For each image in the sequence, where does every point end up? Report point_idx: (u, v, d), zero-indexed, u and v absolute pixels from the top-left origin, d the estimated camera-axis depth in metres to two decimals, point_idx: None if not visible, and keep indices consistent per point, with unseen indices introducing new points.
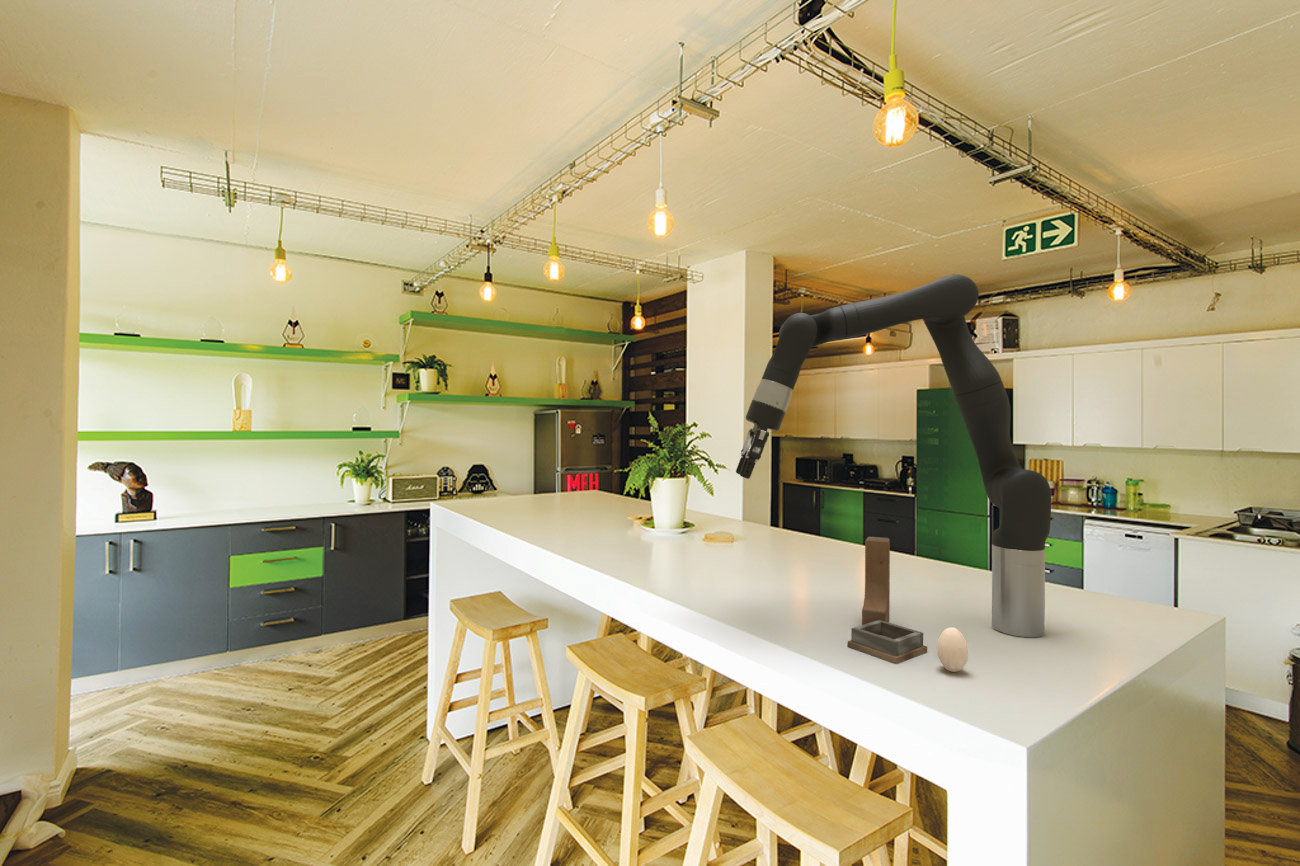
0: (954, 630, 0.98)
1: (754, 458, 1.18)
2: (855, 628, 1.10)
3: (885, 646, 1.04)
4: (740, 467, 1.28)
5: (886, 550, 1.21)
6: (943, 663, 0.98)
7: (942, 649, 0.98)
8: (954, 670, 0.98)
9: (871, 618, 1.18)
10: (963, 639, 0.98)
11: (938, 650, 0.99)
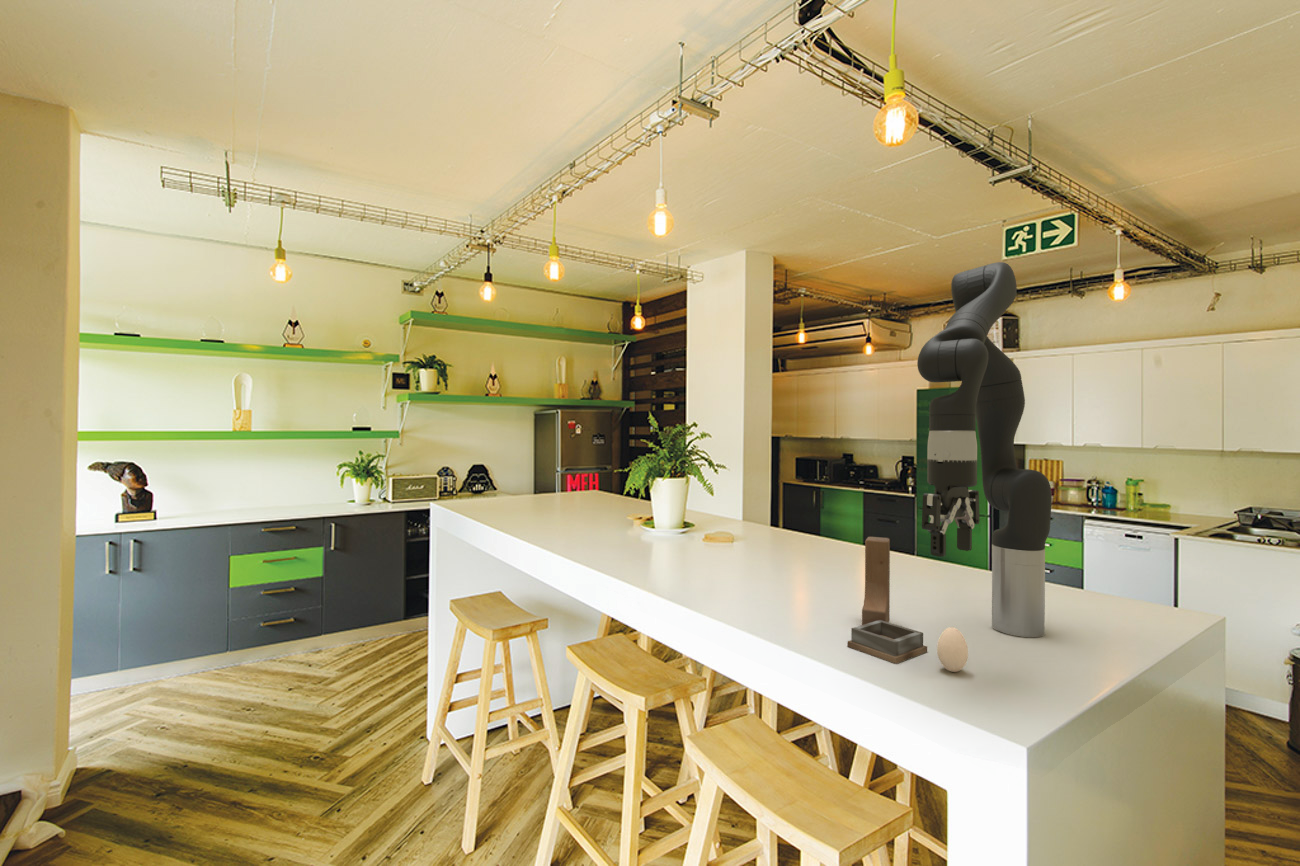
0: (954, 630, 0.98)
1: None
2: (855, 628, 1.10)
3: (885, 646, 1.04)
4: None
5: (886, 550, 1.21)
6: (943, 663, 0.98)
7: (942, 649, 0.98)
8: (954, 670, 0.98)
9: (871, 618, 1.18)
10: (963, 639, 0.98)
11: (938, 650, 0.99)
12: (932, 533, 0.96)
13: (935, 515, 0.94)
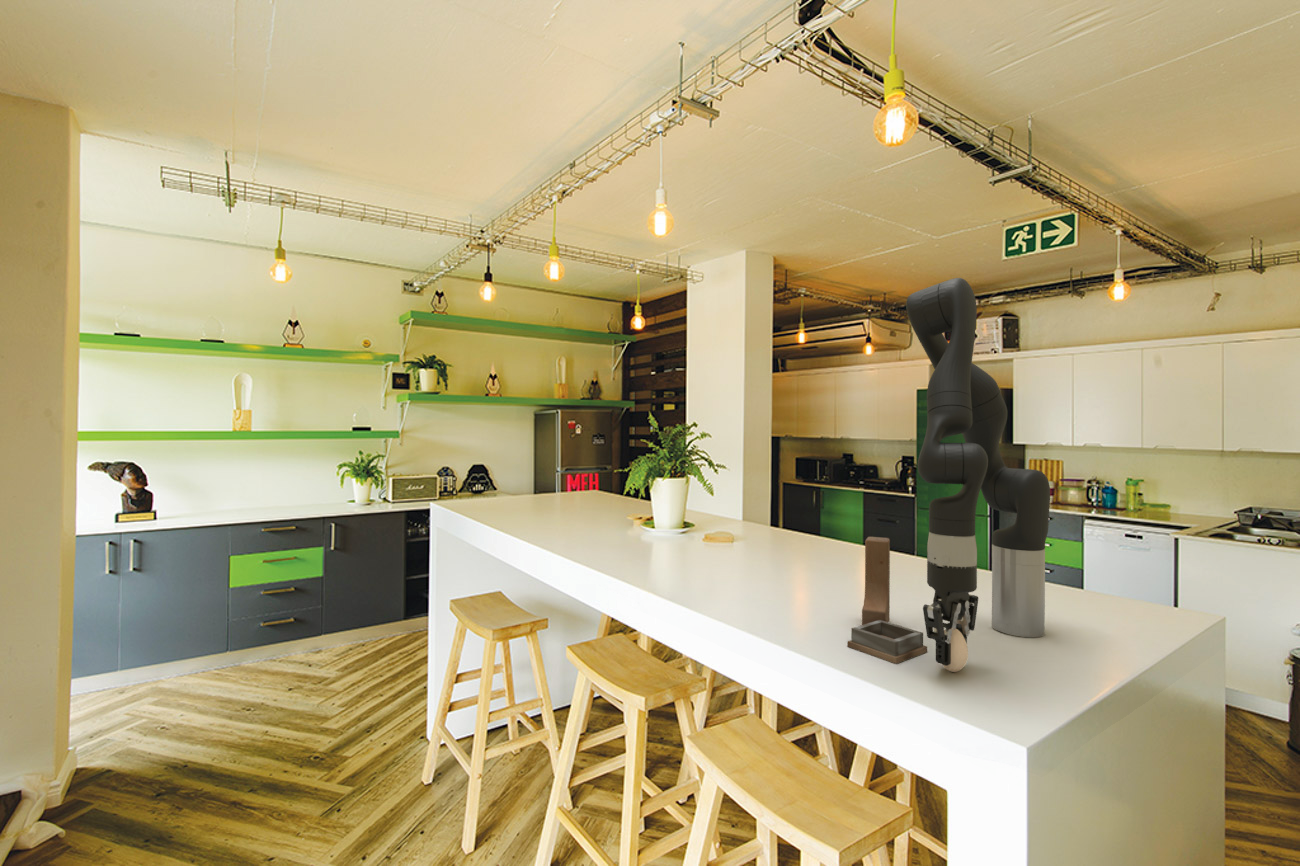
0: (954, 630, 0.98)
1: None
2: (855, 628, 1.10)
3: (885, 646, 1.04)
4: None
5: (886, 550, 1.21)
6: None
7: None
8: (954, 670, 0.98)
9: (871, 618, 1.18)
10: (963, 639, 0.98)
11: None
12: (937, 642, 0.97)
13: (938, 628, 0.95)
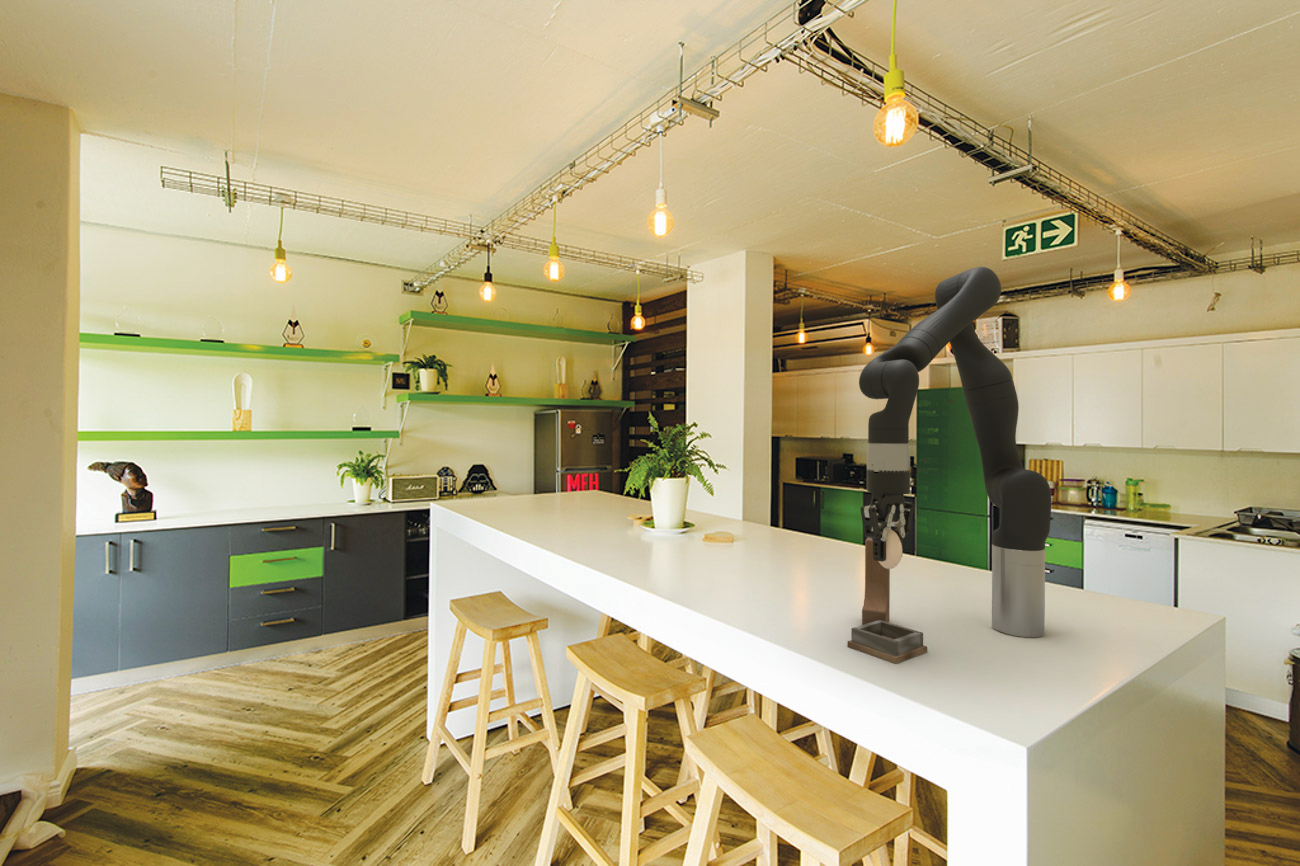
0: (890, 531, 1.08)
1: None
2: (855, 628, 1.10)
3: (885, 646, 1.04)
4: None
5: None
6: (880, 561, 1.08)
7: None
8: (889, 566, 1.07)
9: (871, 618, 1.18)
10: (897, 538, 1.07)
11: None
12: (874, 540, 1.07)
13: (873, 526, 1.04)
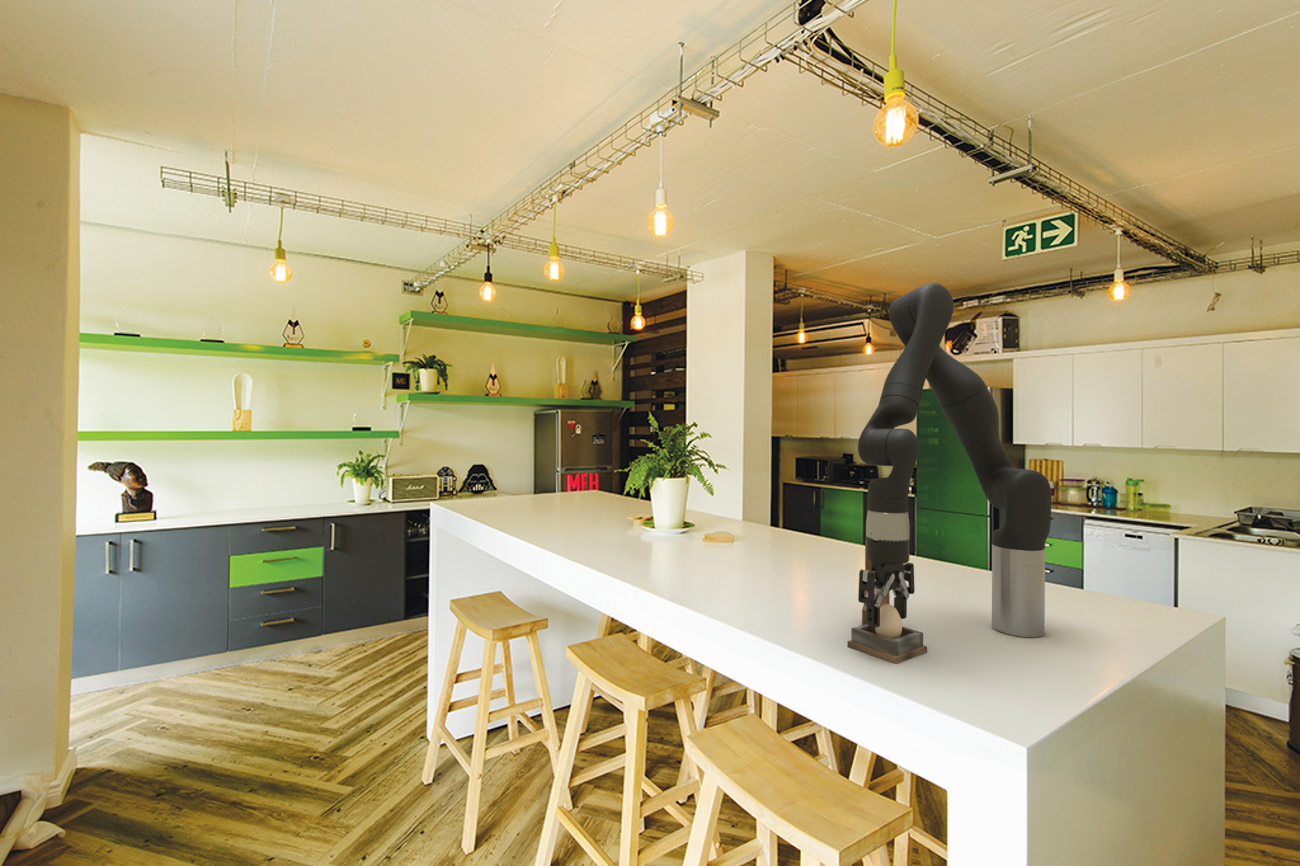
0: (889, 606, 1.08)
1: None
2: (855, 628, 1.10)
3: (885, 646, 1.04)
4: None
5: None
6: None
7: None
8: None
9: None
10: (897, 614, 1.07)
11: None
12: (868, 606, 1.06)
13: (869, 590, 1.04)
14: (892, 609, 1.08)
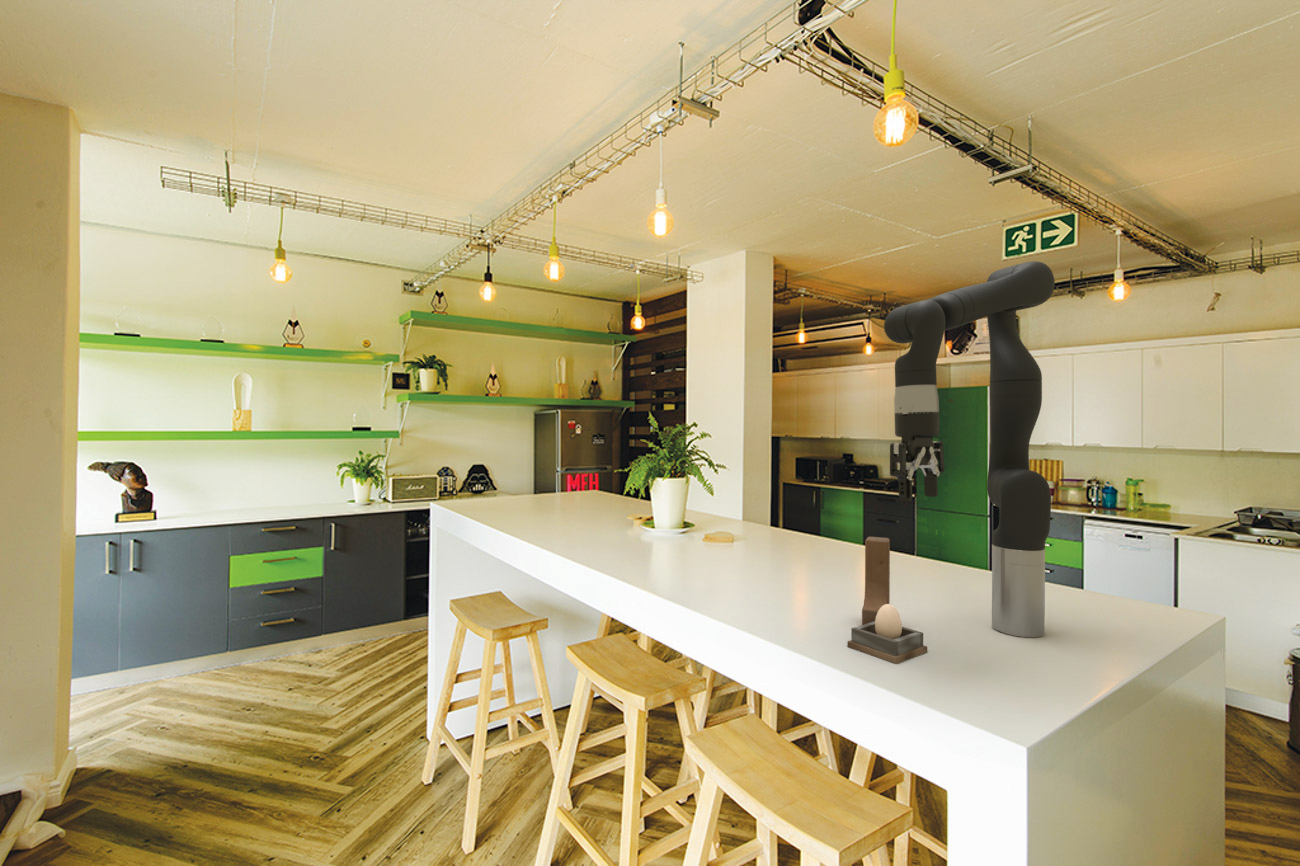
0: (889, 606, 1.08)
1: None
2: (855, 628, 1.10)
3: (885, 646, 1.04)
4: None
5: (886, 550, 1.21)
6: None
7: (878, 623, 1.08)
8: None
9: (871, 618, 1.18)
10: (897, 614, 1.07)
11: (875, 625, 1.09)
12: (899, 479, 1.05)
13: (901, 461, 1.03)
14: (892, 609, 1.08)
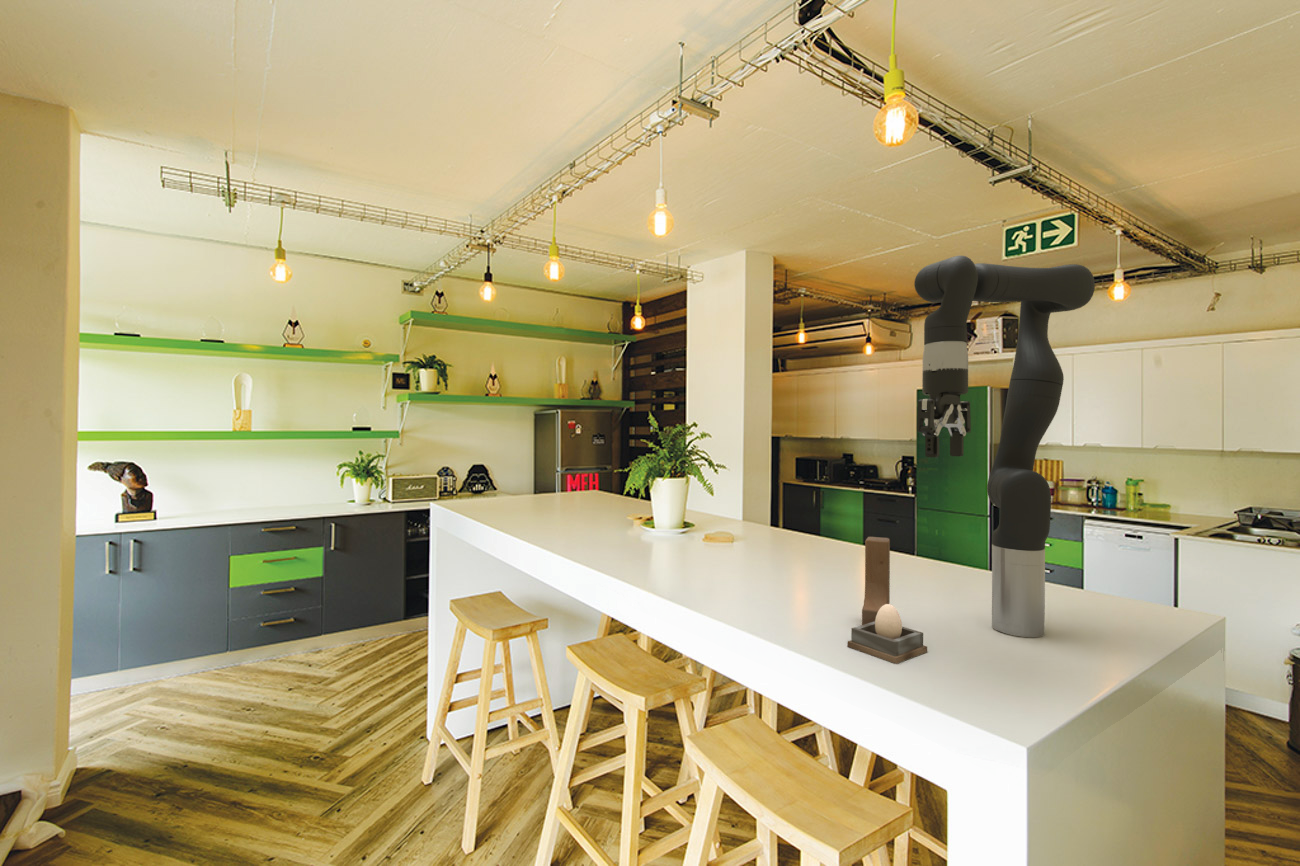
0: (889, 606, 1.08)
1: None
2: (855, 628, 1.10)
3: (885, 646, 1.04)
4: None
5: (886, 550, 1.21)
6: None
7: (878, 623, 1.08)
8: None
9: (871, 618, 1.18)
10: (897, 614, 1.07)
11: (875, 625, 1.09)
12: (926, 436, 1.04)
13: (929, 417, 1.02)
14: (892, 609, 1.08)
